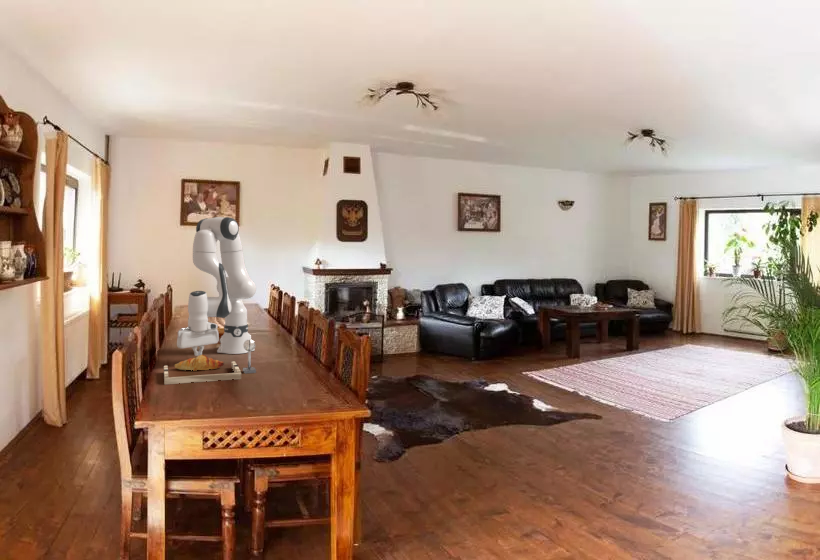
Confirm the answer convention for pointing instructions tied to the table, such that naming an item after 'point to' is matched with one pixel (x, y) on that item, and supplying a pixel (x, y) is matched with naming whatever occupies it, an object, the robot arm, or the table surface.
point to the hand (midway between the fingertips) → (198, 355)
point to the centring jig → (202, 376)
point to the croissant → (199, 363)
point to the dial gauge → (249, 356)
